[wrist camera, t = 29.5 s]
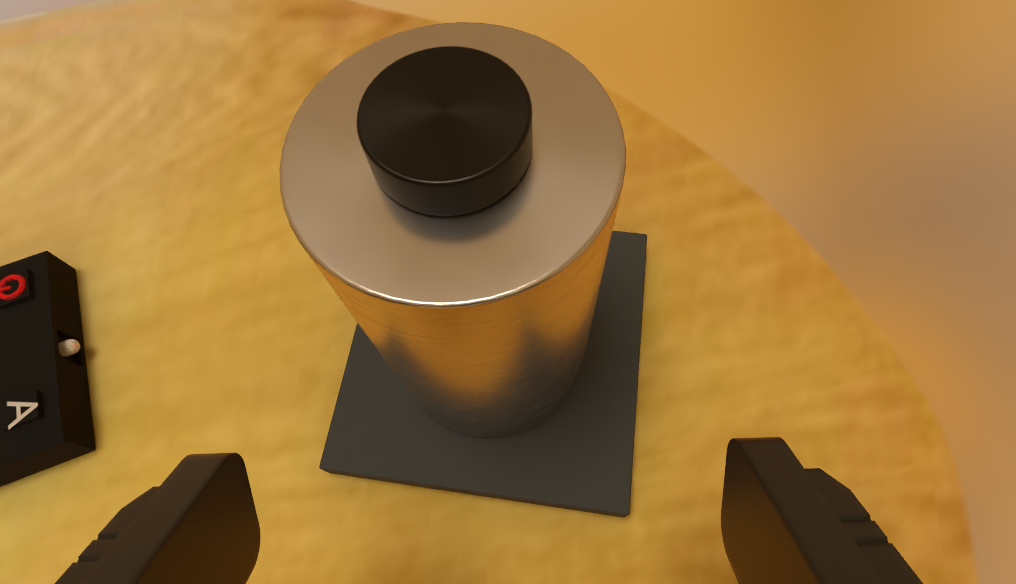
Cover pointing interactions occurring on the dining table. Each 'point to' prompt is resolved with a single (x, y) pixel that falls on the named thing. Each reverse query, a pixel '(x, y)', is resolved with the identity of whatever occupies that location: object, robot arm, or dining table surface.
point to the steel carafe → (462, 213)
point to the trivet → (524, 456)
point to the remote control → (41, 368)
